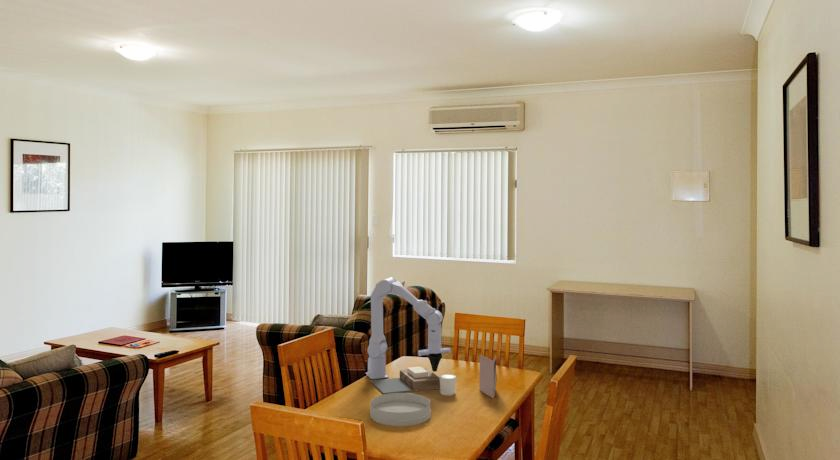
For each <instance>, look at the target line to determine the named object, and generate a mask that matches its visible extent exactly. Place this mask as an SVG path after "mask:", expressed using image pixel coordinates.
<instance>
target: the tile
mask: <svg viewBox="0 0 840 460" xmlns="http://www.w3.org/2000/svg"><path fill="white" fill-rule="evenodd" d="M423 368H424V367H422V366H421V365H420V366H413V367H412V366H410V367H407V369H408V373H409V374H410V375H412V376H413V377H414V378H420V377H428V371H426V370H425V369H423Z"/></svg>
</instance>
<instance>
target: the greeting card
mask: <svg viewBox="0 0 840 460" xmlns="http://www.w3.org/2000/svg"><path fill="white" fill-rule="evenodd" d="M497 361H498V358H497V355H495V356H494V359H493V360H492V359H490V358H489V357H486V356H484V355H483V354H479V385H478V386H479V387H478V388H479V389H478V391H480V392H481V391H482V393H483V394H485V395H487V396H488V397H490V398H492V399H495V395H496V391H497V383H498V381H497V379H498V377H497V376H498V375H497Z"/></svg>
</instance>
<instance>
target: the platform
mask: <svg viewBox="0 0 840 460" xmlns="http://www.w3.org/2000/svg"><path fill="white" fill-rule="evenodd" d="M422 368H423V369H425V370H426V371H428V377H420V378H414V377H413V376H412V375H410V374H409V373H408V368H405V369H399V379H401V380H402V381H403V382H404V383H405V384H407V385H408V386H409V387H410V388H411V389H412V390H413V391H412V392H419V391H425V390H426V391H428V390H436V389H440V378H439V376H438V375H437V374H436V373H434V371H432V370H430V369H428V368H427V367H422Z"/></svg>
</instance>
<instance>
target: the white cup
mask: <svg viewBox="0 0 840 460" xmlns="http://www.w3.org/2000/svg"><path fill="white" fill-rule="evenodd" d="M438 377H439V378H440V388H439V389H440V394H441V395H442V396H453V394H454V395H455V393H456V385H457V376H456V375H455V374H451V373H445V374H444V373H443V374H440V375H439V376H438Z"/></svg>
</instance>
